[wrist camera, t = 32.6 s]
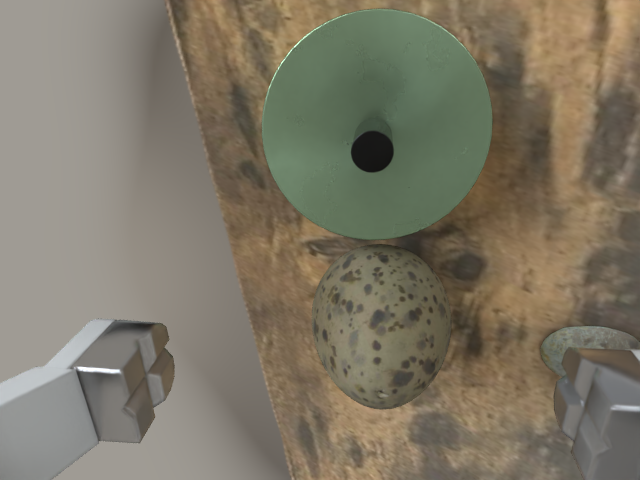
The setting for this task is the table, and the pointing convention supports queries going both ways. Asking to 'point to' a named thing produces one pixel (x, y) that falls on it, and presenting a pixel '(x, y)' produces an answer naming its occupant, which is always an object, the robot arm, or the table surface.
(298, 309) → the table surface
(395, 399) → the decorative egg
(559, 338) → the soupspoon
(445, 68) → the pot lid
